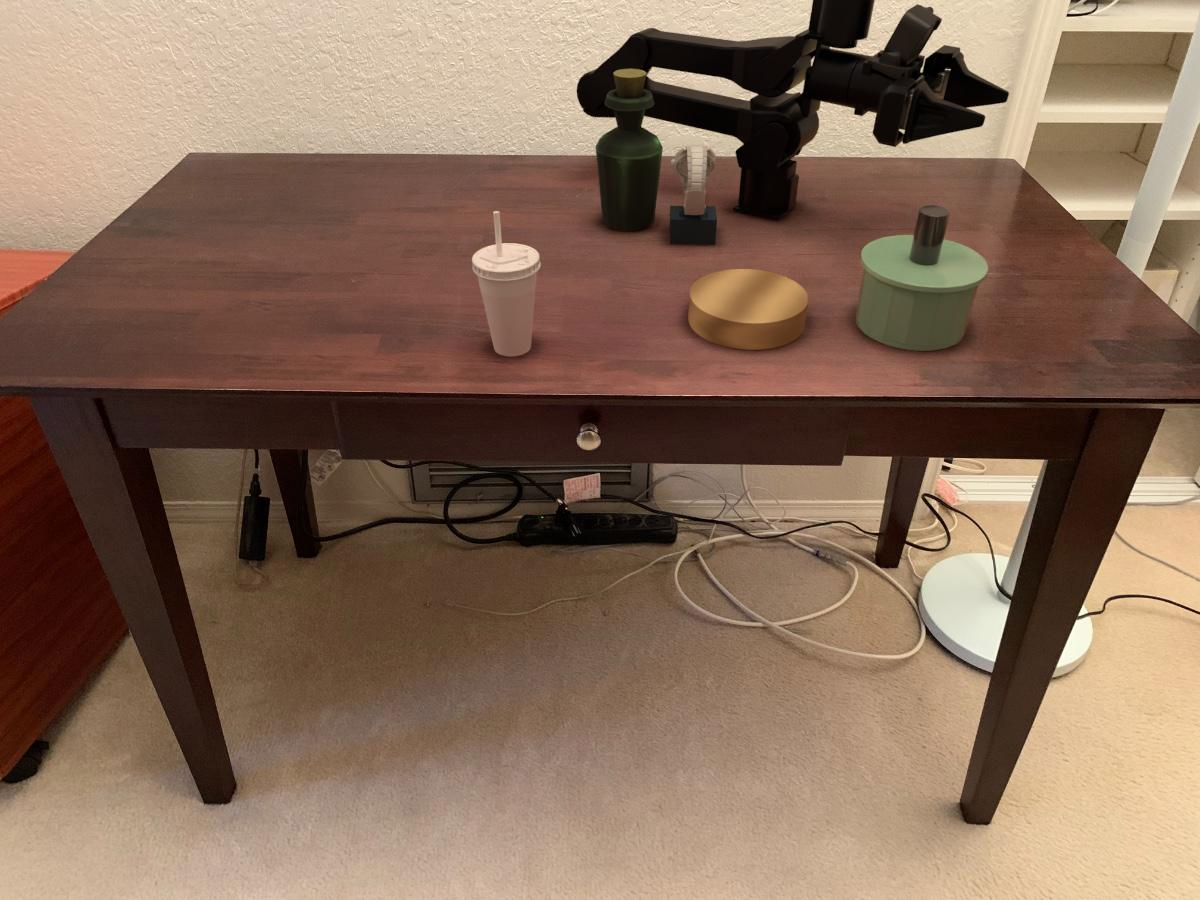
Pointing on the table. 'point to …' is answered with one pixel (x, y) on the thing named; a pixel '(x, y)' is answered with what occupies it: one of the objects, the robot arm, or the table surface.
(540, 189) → the table surface
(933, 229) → the lid
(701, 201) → the watch
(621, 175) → the potion bottle
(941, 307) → the green round open container
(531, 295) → the smoothie
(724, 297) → the disc
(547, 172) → the table surface
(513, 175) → the table surface
